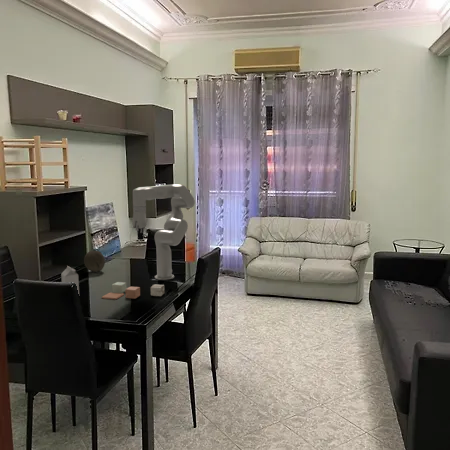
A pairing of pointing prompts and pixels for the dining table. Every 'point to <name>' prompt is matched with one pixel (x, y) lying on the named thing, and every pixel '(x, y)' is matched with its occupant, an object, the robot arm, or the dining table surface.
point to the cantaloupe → (94, 261)
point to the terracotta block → (132, 292)
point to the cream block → (157, 290)
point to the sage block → (119, 287)
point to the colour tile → (113, 295)
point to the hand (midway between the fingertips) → (140, 239)
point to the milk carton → (70, 276)
